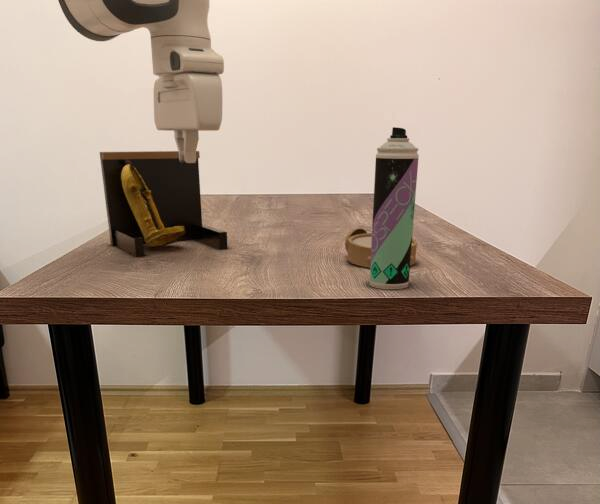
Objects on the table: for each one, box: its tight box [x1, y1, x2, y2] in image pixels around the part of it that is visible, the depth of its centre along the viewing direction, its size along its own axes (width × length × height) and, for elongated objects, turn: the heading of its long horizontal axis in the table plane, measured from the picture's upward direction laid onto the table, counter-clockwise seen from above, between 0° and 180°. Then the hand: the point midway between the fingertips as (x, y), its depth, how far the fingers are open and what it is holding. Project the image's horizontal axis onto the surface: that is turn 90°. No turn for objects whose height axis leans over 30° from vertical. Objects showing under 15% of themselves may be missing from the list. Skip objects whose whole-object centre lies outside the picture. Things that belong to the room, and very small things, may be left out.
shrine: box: [121, 159, 186, 248], centre depth 113 cm, size 12×8×15 cm
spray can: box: [369, 126, 420, 290], centre depth 85 cm, size 6×6×20 cm
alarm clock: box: [344, 228, 418, 269], centre depth 106 cm, size 11×5×15 cm
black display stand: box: [99, 150, 229, 258], centre depth 114 cm, size 18×14×16 cm
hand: (187, 162), depth 101 cm, fingers closed
